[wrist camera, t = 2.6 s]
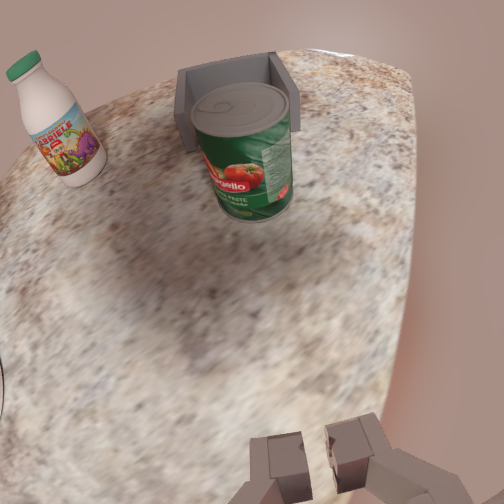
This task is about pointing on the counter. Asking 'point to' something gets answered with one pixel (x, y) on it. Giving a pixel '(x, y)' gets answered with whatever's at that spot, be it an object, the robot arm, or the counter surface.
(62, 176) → the milk bottle
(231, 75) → the box
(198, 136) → the canned tomato
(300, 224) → the counter surface
